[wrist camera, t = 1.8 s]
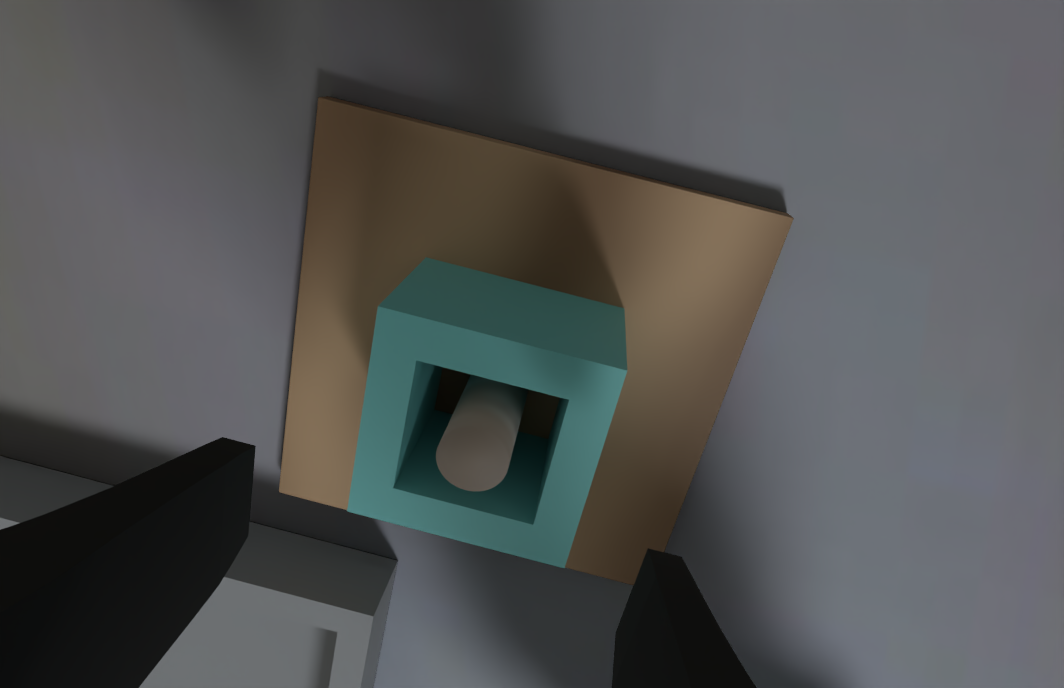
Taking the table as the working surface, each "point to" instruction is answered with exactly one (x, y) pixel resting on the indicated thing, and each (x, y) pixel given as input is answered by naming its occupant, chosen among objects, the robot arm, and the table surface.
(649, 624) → the robot arm
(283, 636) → the tray
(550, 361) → the teal hollow block
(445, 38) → the table surface
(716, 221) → the stake board
